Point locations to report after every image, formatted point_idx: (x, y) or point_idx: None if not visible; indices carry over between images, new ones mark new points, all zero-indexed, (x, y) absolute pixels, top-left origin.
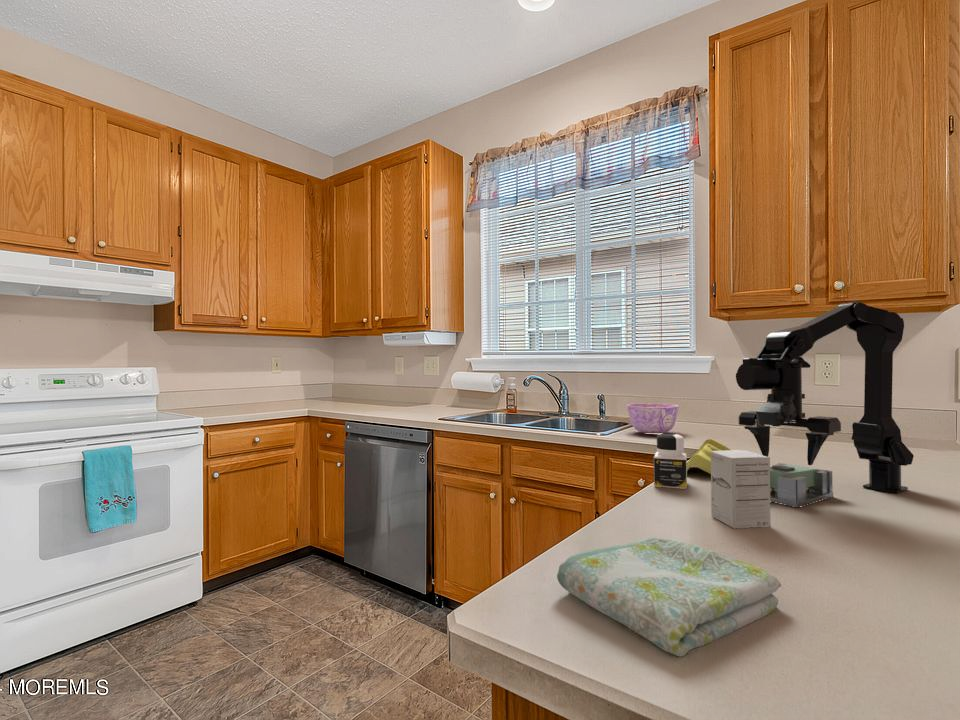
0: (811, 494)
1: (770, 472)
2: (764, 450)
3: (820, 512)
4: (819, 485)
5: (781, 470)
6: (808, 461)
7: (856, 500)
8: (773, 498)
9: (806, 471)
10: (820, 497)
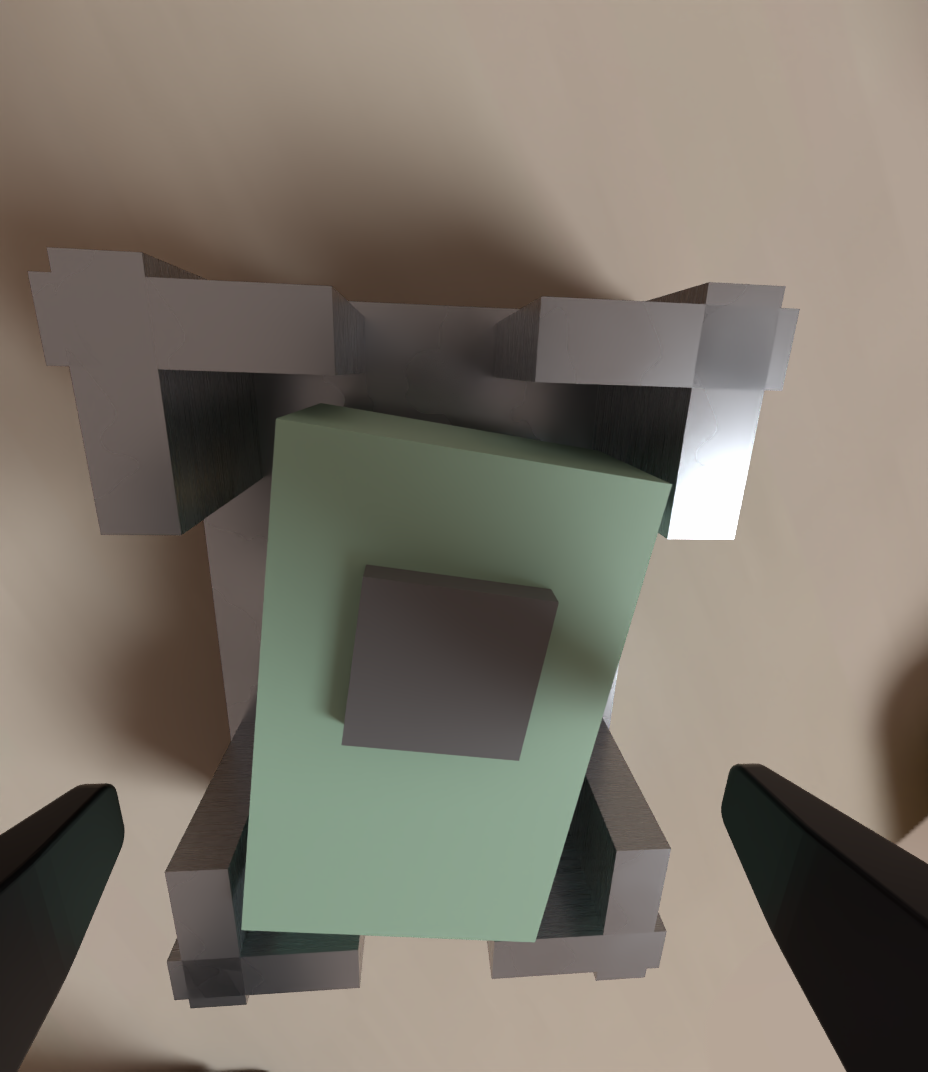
0: None
1: (508, 454)
2: (829, 856)
3: (25, 322)
4: (241, 770)
5: (419, 570)
6: (58, 816)
7: (126, 830)
8: (397, 306)
9: (253, 783)
10: (225, 665)
